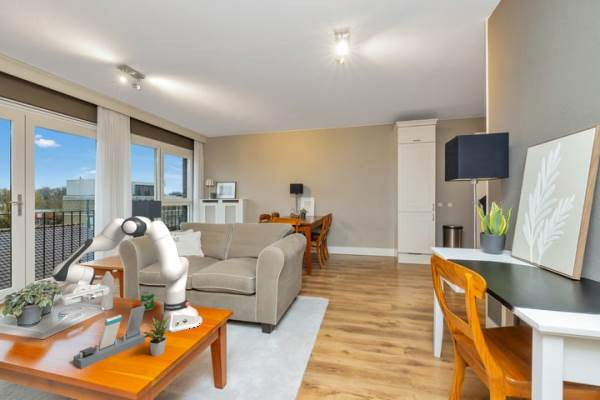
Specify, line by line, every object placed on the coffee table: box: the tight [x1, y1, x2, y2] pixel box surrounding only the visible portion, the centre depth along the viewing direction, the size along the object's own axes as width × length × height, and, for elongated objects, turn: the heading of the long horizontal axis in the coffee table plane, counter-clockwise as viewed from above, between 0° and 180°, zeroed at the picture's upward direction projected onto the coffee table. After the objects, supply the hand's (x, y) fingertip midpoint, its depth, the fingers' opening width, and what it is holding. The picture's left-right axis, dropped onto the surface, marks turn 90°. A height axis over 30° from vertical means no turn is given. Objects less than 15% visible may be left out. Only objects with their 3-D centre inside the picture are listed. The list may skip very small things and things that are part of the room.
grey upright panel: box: [124, 305, 145, 339], centre depth 134 cm, size 6×2×16 cm, turn 149°
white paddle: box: [98, 314, 123, 349], centre depth 123 cm, size 6×2×16 cm, turn 149°
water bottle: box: [100, 269, 118, 311], centre depth 179 cm, size 9×6×25 cm
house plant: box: [139, 316, 173, 357], centre depth 128 cm, size 14×14×16 cm
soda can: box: [140, 289, 155, 312], centre depth 178 cm, size 8×8×12 cm
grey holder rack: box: [72, 328, 146, 370], centre depth 127 cm, size 27×8×5 cm, turn 149°
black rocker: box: [79, 346, 97, 355], centre depth 119 cm, size 4×6×1 cm, turn 59°
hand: (92, 297), depth 134 cm, fingers closed
